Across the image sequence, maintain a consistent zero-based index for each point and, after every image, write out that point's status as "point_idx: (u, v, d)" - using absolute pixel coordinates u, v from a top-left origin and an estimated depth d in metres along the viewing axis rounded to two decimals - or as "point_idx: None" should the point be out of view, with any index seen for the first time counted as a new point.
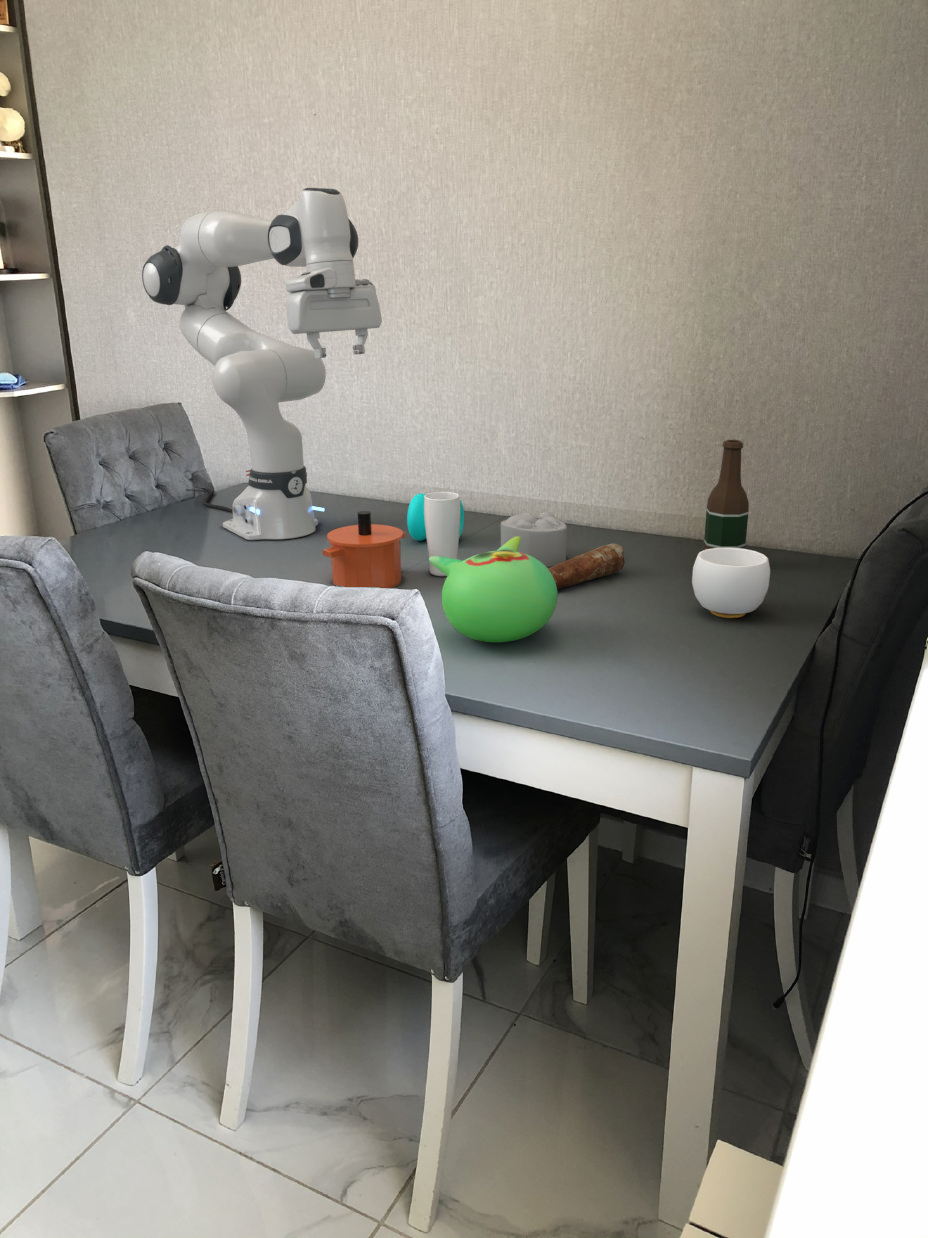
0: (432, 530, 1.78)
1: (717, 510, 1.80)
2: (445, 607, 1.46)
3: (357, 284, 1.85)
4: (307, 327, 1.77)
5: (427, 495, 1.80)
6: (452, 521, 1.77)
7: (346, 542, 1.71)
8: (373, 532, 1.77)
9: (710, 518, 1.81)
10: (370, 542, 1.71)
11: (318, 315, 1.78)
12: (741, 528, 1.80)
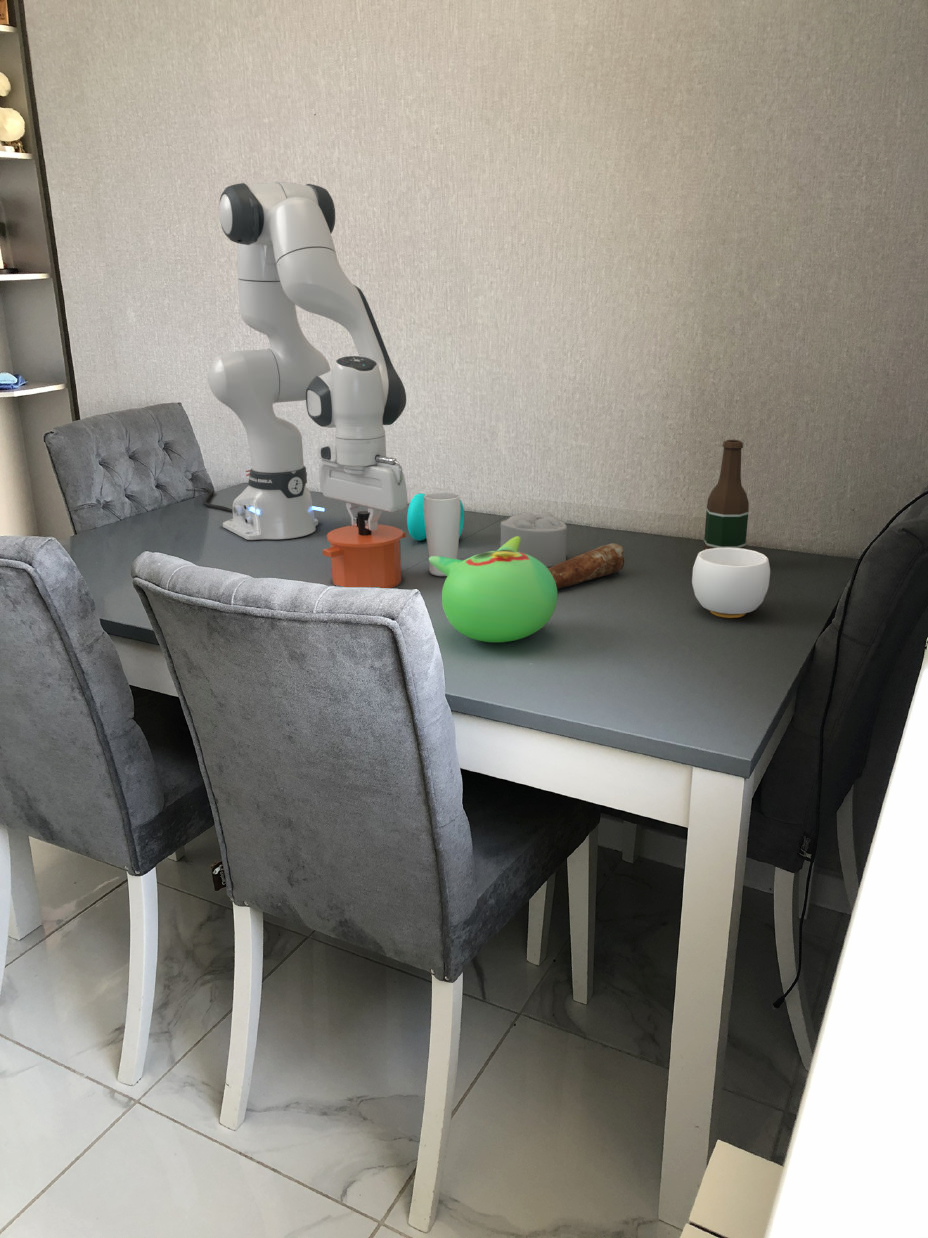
0: (432, 530, 1.78)
1: (717, 510, 1.80)
2: (445, 607, 1.46)
3: (381, 461, 1.67)
4: (326, 492, 1.78)
5: (427, 495, 1.80)
6: (452, 521, 1.77)
7: (346, 542, 1.71)
8: (373, 532, 1.77)
9: (710, 518, 1.81)
10: (370, 542, 1.71)
11: (335, 484, 1.76)
12: (741, 528, 1.80)
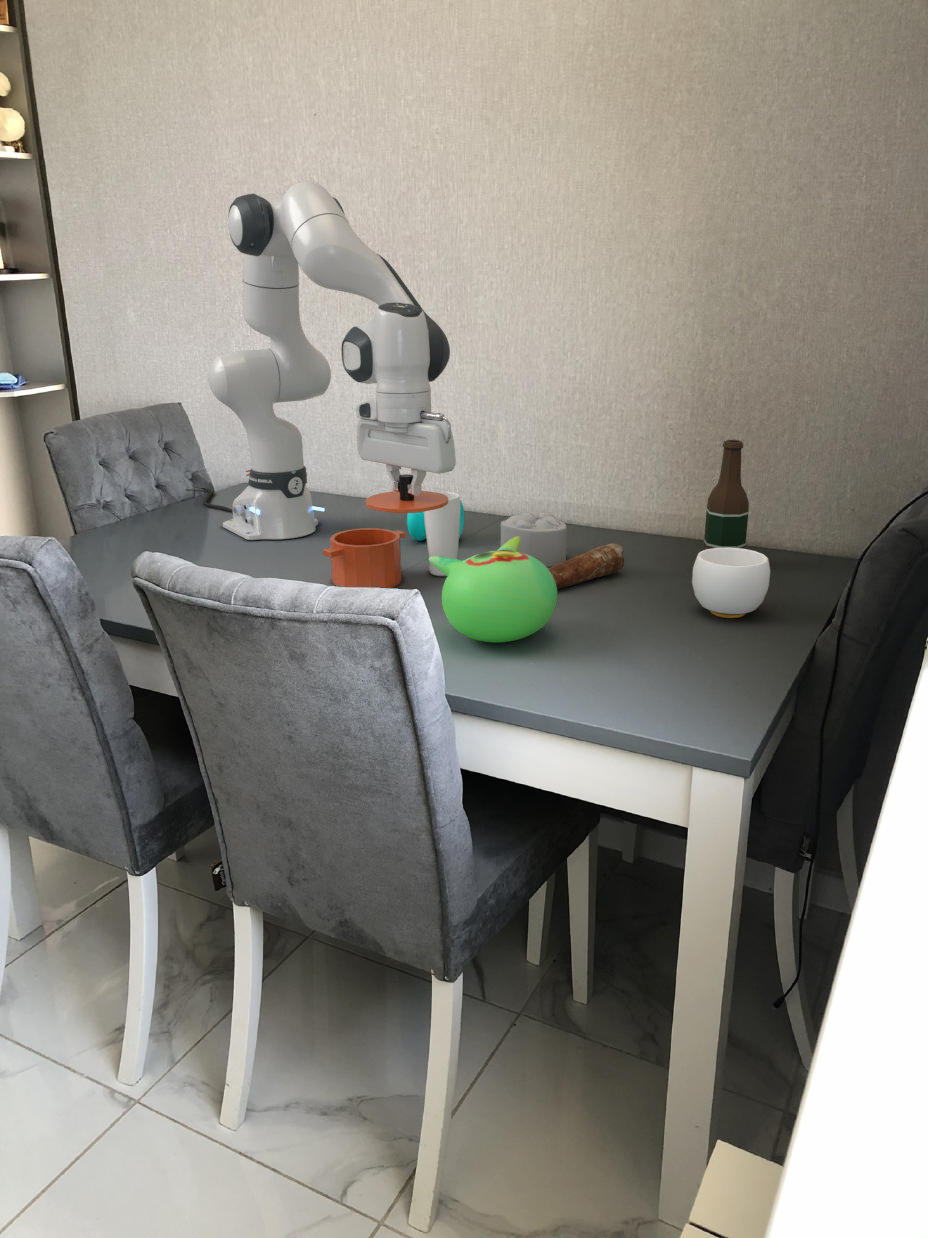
0: (432, 530, 1.78)
1: (717, 510, 1.80)
2: (445, 607, 1.46)
3: (427, 418, 1.53)
4: (364, 455, 1.63)
5: None
6: (452, 521, 1.77)
7: (388, 507, 1.56)
8: (416, 498, 1.62)
9: (710, 518, 1.81)
10: (414, 507, 1.56)
11: (375, 445, 1.61)
12: (741, 528, 1.80)
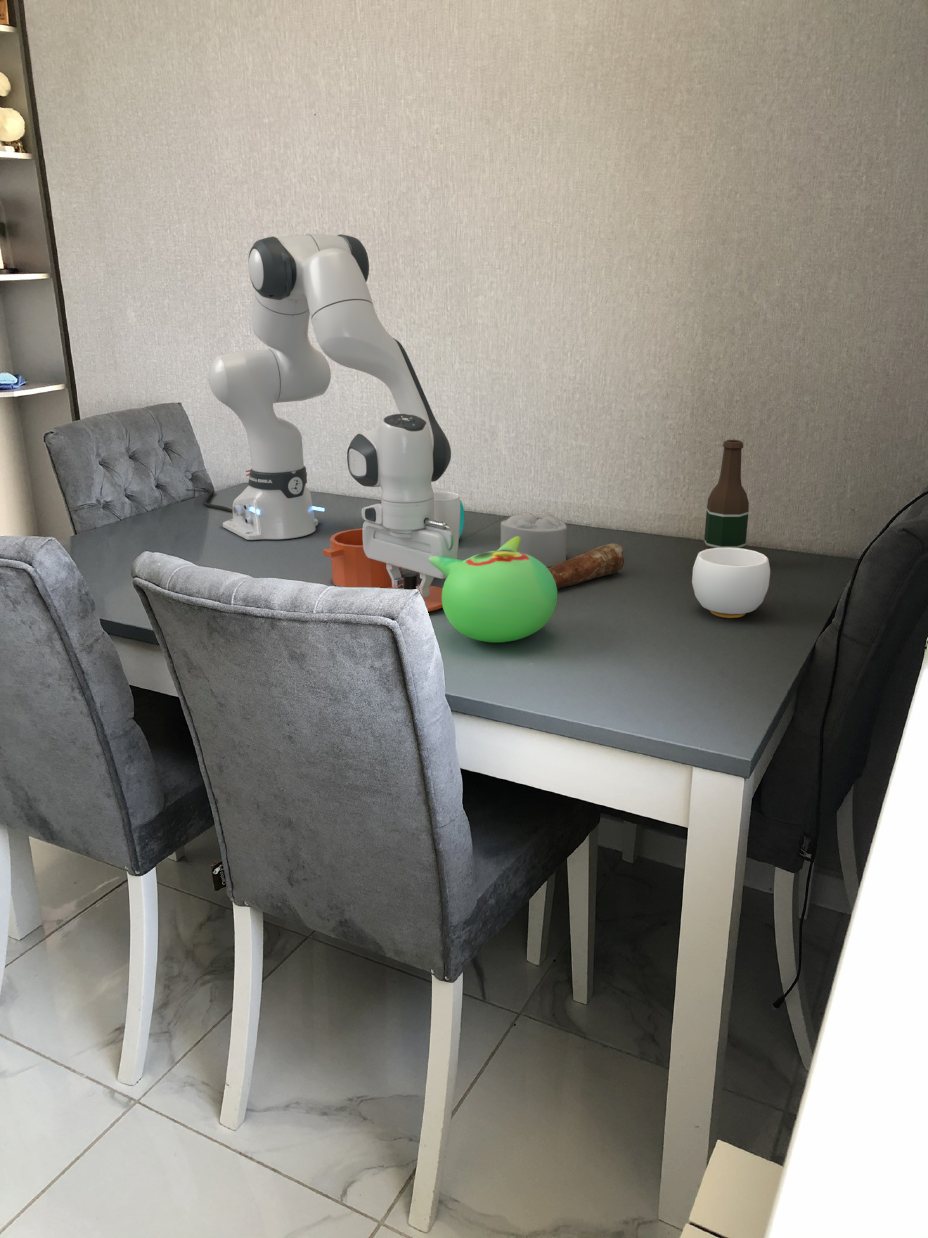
0: None
1: (717, 510, 1.80)
2: (445, 607, 1.46)
3: (430, 525, 1.58)
4: (369, 554, 1.69)
5: None
6: (452, 521, 1.77)
7: None
8: None
9: (710, 518, 1.81)
10: None
11: (380, 546, 1.67)
12: (741, 528, 1.80)
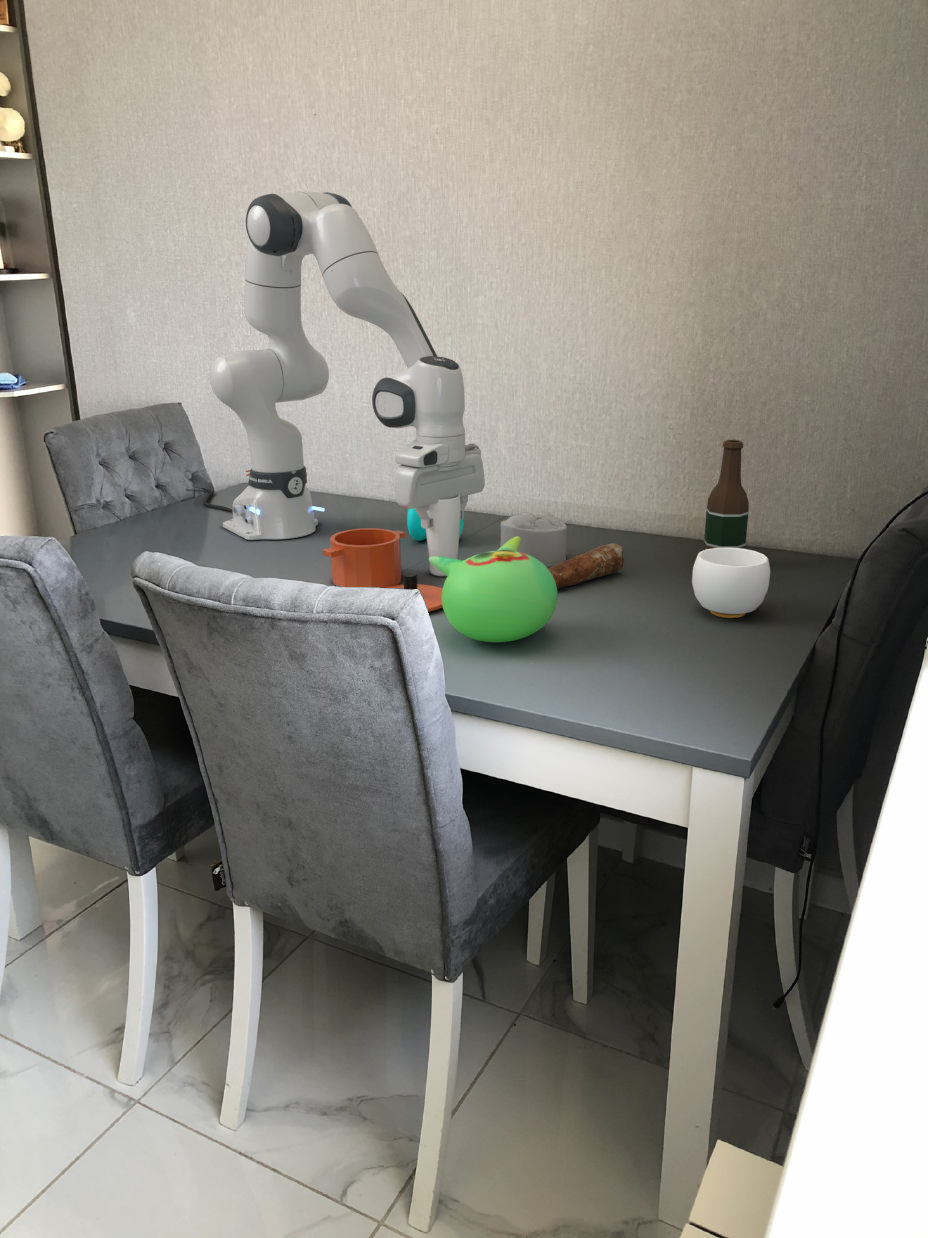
0: (432, 530, 1.78)
1: (717, 510, 1.80)
2: (445, 607, 1.46)
3: (464, 450, 1.79)
4: (416, 503, 1.72)
5: None
6: (452, 521, 1.77)
7: None
8: None
9: (710, 518, 1.81)
10: None
11: (427, 489, 1.73)
12: (741, 528, 1.80)
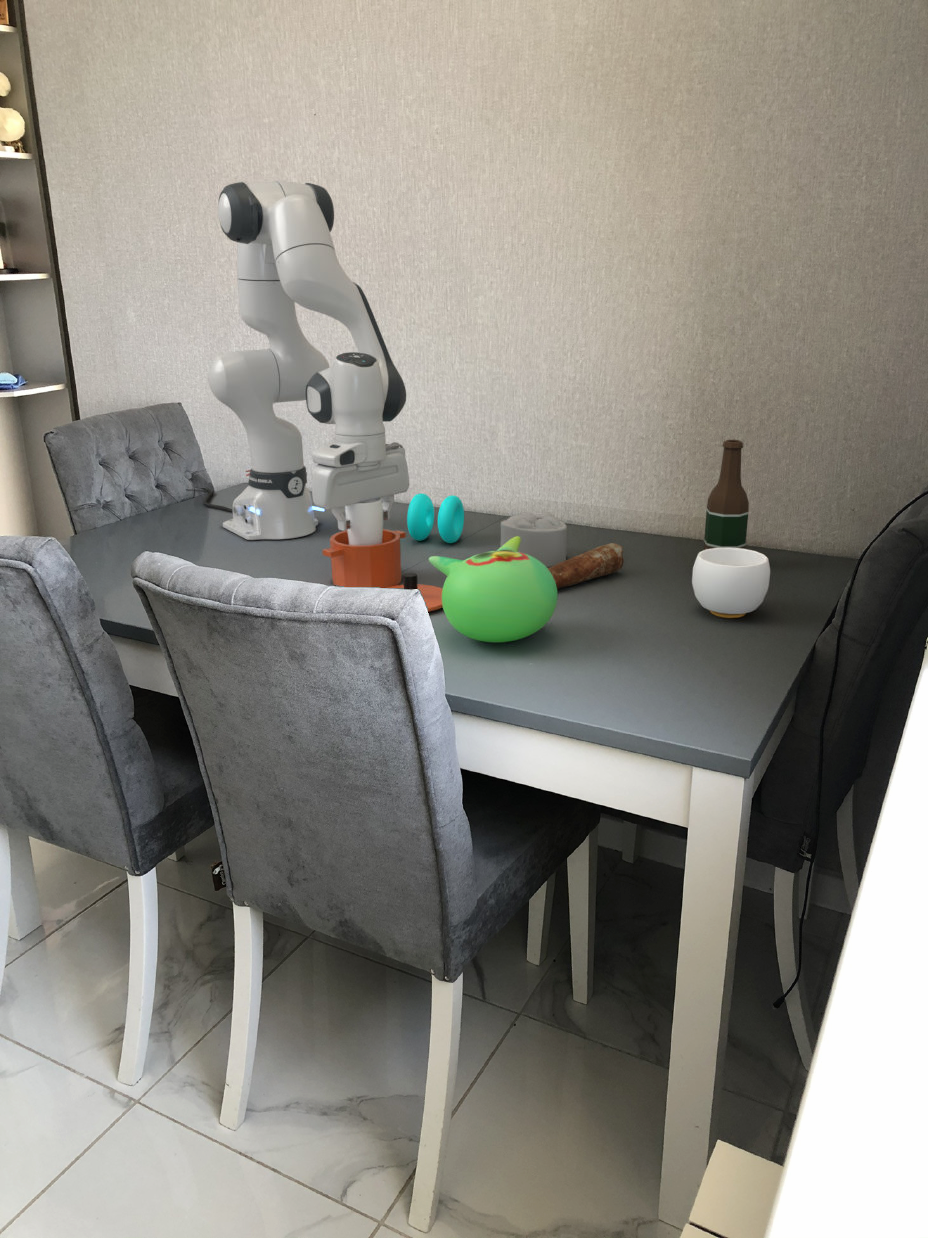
0: (353, 535, 1.74)
1: (717, 510, 1.80)
2: (445, 607, 1.46)
3: (387, 449, 1.75)
4: (333, 503, 1.67)
5: None
6: (373, 525, 1.73)
7: None
8: None
9: (710, 518, 1.81)
10: None
11: (345, 489, 1.68)
12: (741, 528, 1.80)
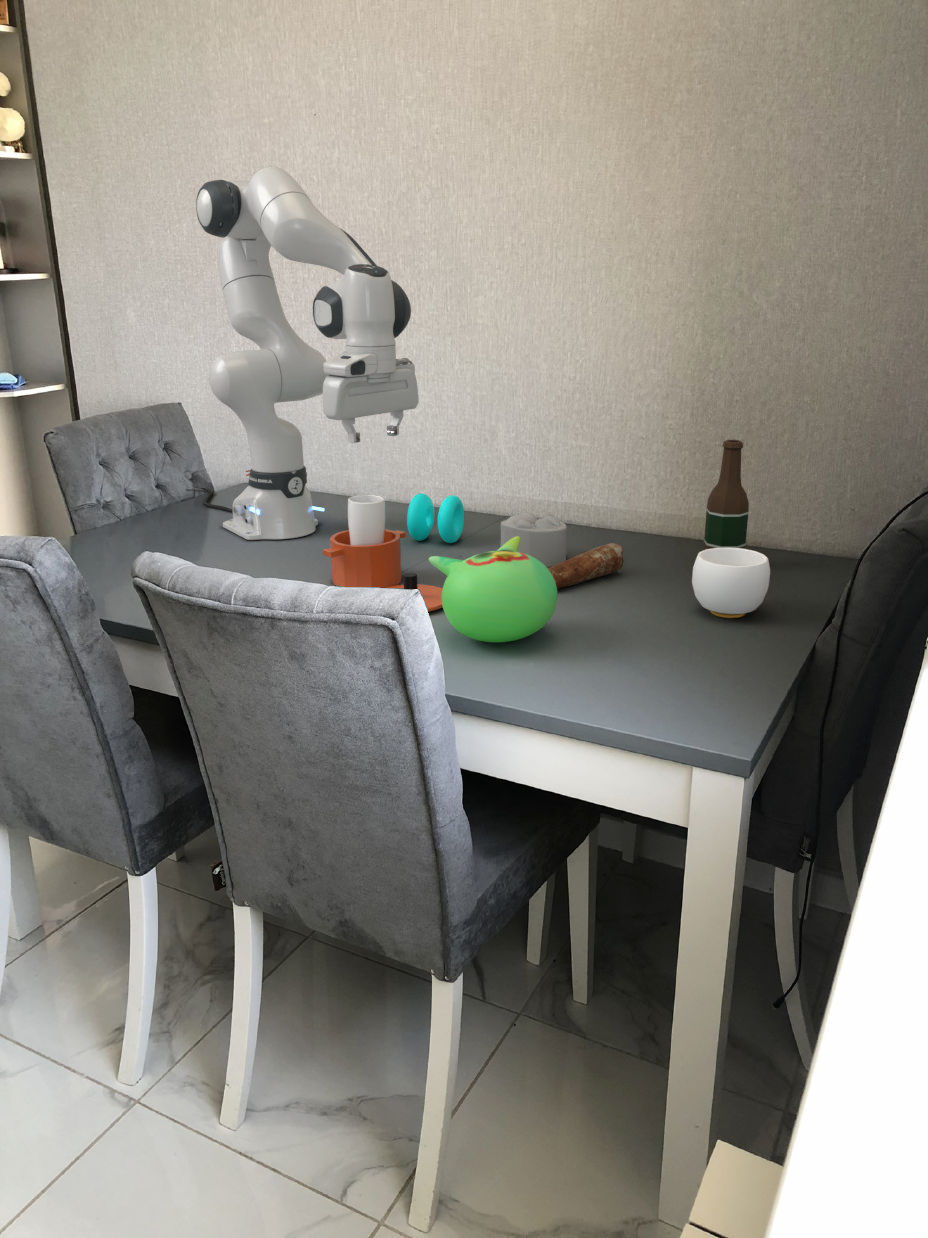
0: (355, 534, 1.74)
1: (717, 510, 1.80)
2: (445, 607, 1.46)
3: (397, 364, 1.77)
4: (343, 414, 1.69)
5: (352, 498, 1.75)
6: (375, 525, 1.73)
7: None
8: None
9: (710, 518, 1.81)
10: None
11: (355, 401, 1.70)
12: (741, 528, 1.80)
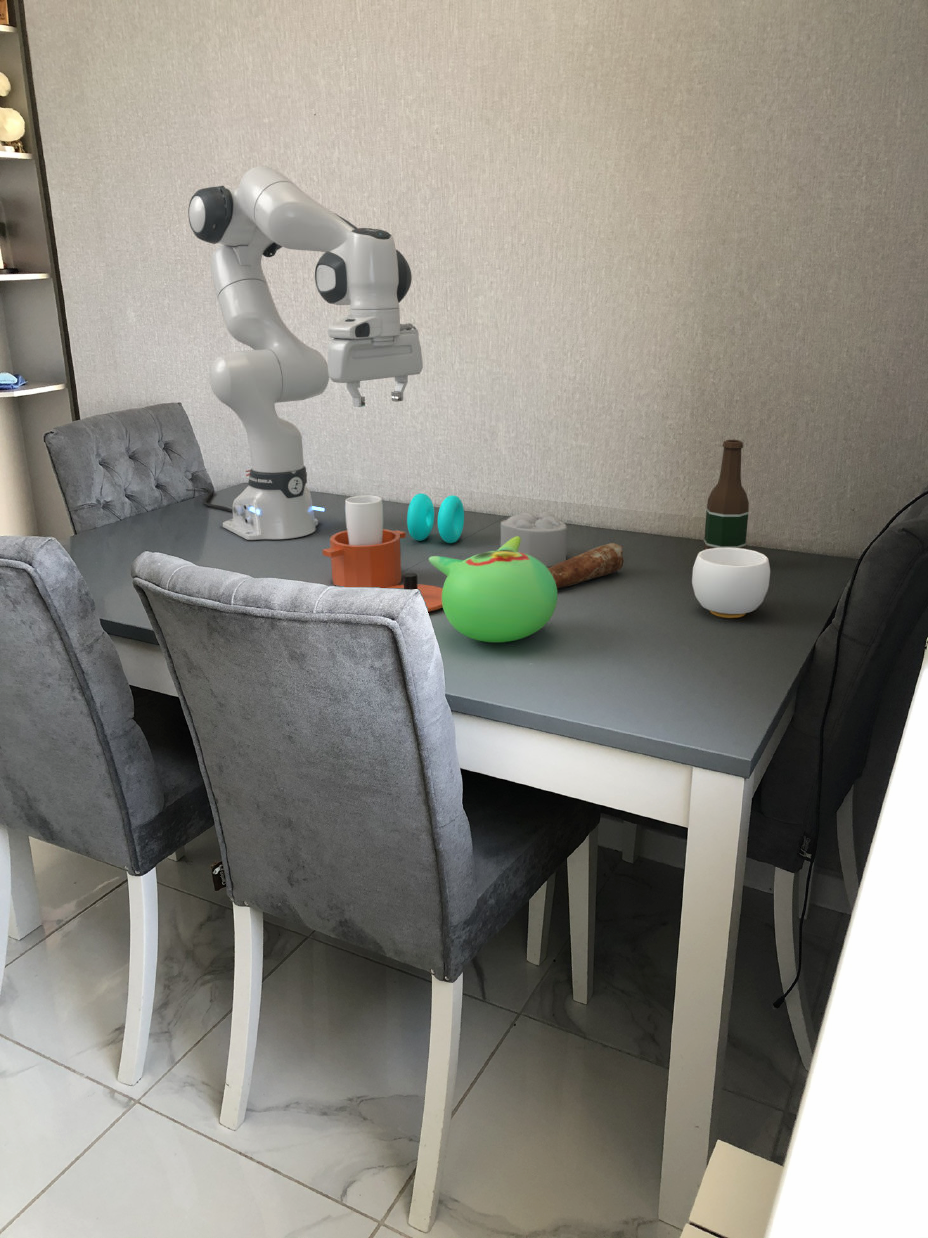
0: (353, 535, 1.74)
1: (717, 510, 1.80)
2: (445, 607, 1.46)
3: (400, 329, 1.77)
4: (348, 377, 1.69)
5: (349, 499, 1.75)
6: (373, 525, 1.73)
7: None
8: None
9: (710, 518, 1.81)
10: None
11: (360, 364, 1.71)
12: (741, 528, 1.80)
